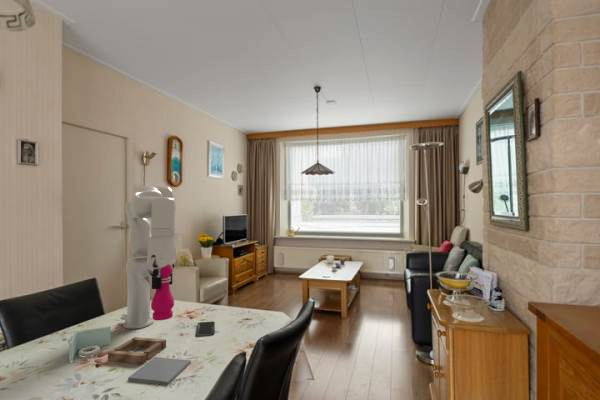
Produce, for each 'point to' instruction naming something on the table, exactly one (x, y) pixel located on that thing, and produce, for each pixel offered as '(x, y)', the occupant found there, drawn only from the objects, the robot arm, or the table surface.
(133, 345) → the collar
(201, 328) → the phone
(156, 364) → the slate tile
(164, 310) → the pepper mill
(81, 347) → the right angle wall
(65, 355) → the table surface
